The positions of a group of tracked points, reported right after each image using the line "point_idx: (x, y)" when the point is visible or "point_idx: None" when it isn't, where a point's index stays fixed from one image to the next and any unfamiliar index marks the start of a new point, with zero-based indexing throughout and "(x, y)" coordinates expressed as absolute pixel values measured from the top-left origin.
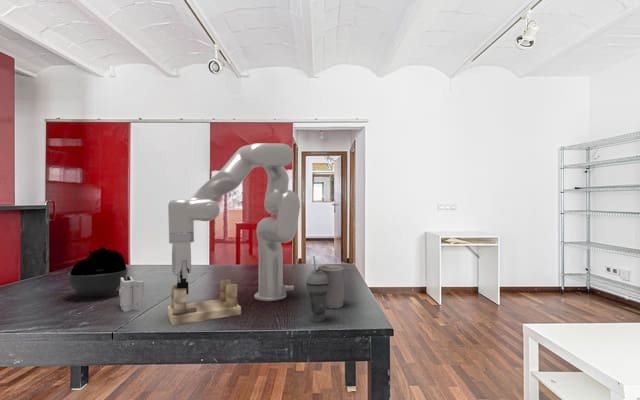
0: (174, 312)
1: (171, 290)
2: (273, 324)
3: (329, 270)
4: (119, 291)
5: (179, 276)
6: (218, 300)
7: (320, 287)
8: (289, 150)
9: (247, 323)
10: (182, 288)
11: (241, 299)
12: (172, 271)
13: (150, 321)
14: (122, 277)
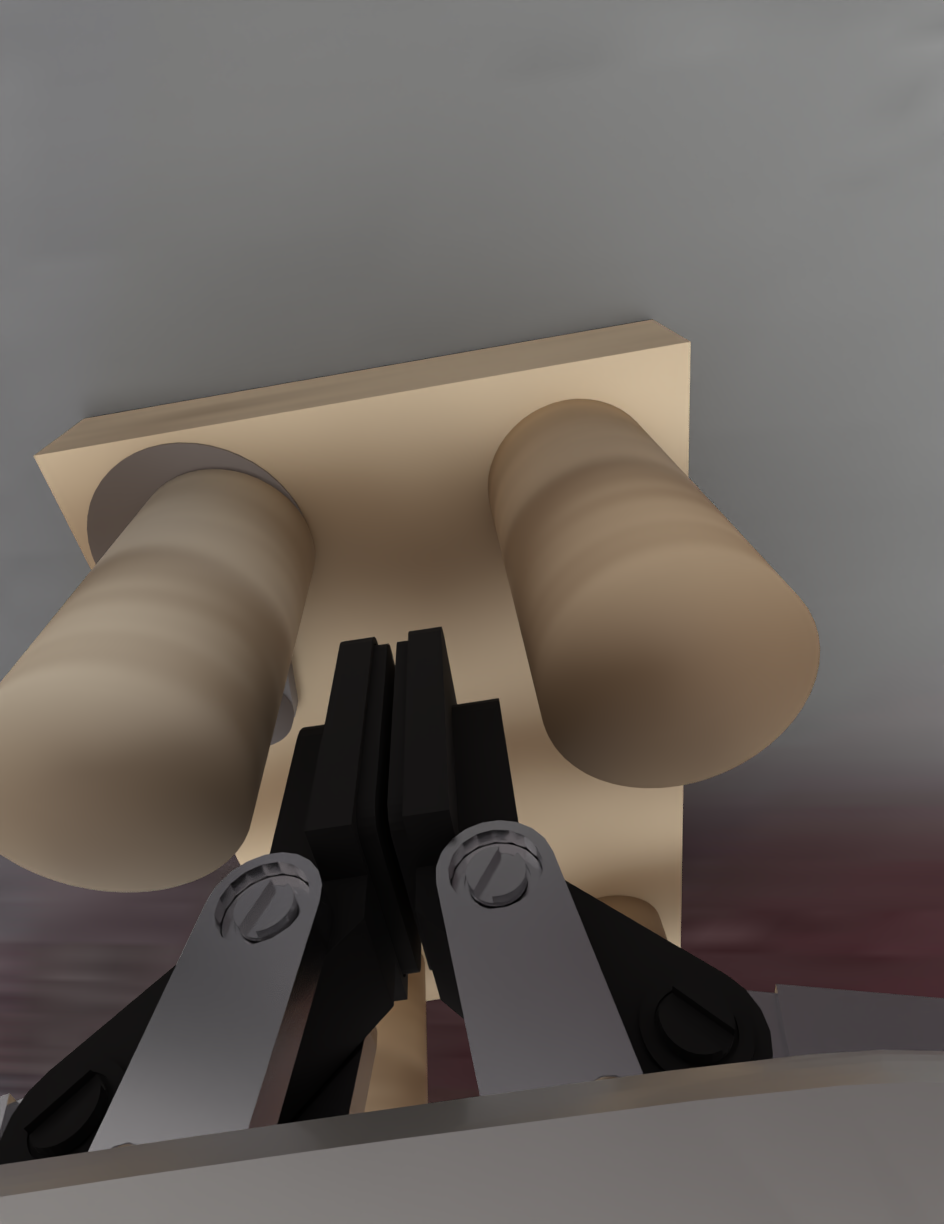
0: (157, 490)
1: (603, 535)
2: (38, 1079)
3: None
4: None
5: (121, 1124)
6: (631, 885)
7: None
8: None
9: (79, 977)
10: (219, 829)
11: (768, 961)
12: (567, 1134)
13: (354, 63)
14: None
